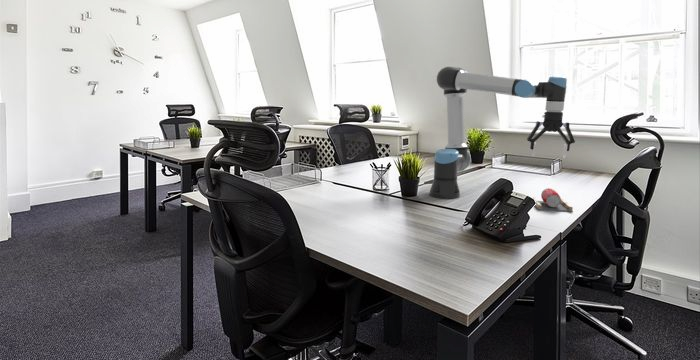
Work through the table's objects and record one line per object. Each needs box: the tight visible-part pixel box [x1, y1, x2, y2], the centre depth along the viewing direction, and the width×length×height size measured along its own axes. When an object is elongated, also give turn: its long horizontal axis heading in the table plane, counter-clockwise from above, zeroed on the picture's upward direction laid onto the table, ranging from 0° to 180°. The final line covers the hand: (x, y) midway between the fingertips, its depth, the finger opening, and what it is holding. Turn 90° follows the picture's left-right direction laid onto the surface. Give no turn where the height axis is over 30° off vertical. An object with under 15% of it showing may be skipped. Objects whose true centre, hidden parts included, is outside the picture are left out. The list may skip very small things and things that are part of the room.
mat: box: [534, 200, 573, 213], centre depth 195 cm, size 16×14×1 cm
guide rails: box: [532, 197, 573, 211], centre depth 195 cm, size 16×14×2 cm
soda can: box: [541, 187, 562, 207], centre depth 195 cm, size 7×7×12 cm
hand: (548, 157), depth 196 cm, fingers open, 13 cm apart
